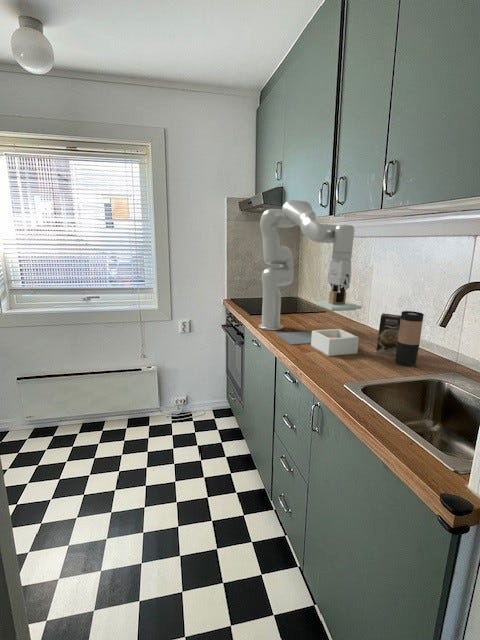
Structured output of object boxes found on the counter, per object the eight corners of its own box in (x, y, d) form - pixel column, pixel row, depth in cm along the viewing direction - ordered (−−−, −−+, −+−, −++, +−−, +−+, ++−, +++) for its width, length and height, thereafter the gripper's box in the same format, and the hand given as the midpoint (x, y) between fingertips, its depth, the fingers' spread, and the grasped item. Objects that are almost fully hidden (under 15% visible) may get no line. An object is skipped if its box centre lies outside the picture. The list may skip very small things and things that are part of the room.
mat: (275, 334, 169) (275, 333, 169) (307, 332, 175) (307, 331, 175) (291, 345, 152) (291, 344, 152) (326, 342, 158) (326, 341, 158)
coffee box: (375, 352, 145) (380, 315, 142) (377, 348, 151) (381, 312, 147) (399, 356, 141) (404, 318, 137) (400, 352, 147) (405, 315, 143)
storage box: (310, 345, 152) (312, 330, 151) (338, 343, 156) (339, 328, 155) (328, 356, 139) (329, 339, 138) (357, 353, 144) (358, 337, 142)
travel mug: (390, 359, 137) (397, 310, 132) (409, 360, 137) (416, 311, 132) (400, 366, 129) (408, 315, 125) (420, 366, 130) (428, 315, 125)
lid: (313, 304, 148) (314, 289, 147) (341, 304, 153) (342, 288, 151) (331, 312, 135) (332, 295, 134) (360, 310, 140) (362, 294, 138)
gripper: (322, 255, 145) (319, 297, 150) (345, 257, 130) (340, 305, 135) (338, 255, 148) (333, 297, 152) (362, 258, 133) (356, 304, 137)
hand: (337, 300), depth 143 cm, fingers closed on lid, 3 cm apart
